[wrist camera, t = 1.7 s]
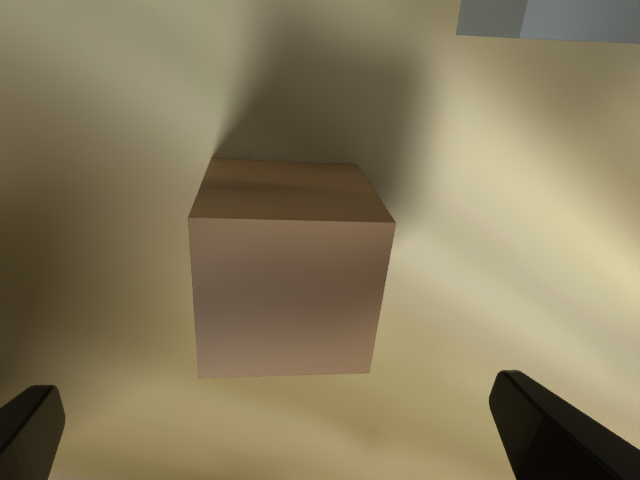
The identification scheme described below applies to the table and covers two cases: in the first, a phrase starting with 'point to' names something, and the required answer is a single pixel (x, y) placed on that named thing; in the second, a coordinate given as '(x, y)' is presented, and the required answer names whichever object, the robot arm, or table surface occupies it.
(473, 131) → the table surface
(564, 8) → the base block
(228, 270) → the walnut cube
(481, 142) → the table surface
